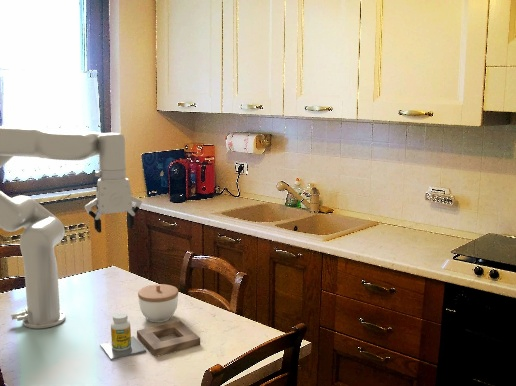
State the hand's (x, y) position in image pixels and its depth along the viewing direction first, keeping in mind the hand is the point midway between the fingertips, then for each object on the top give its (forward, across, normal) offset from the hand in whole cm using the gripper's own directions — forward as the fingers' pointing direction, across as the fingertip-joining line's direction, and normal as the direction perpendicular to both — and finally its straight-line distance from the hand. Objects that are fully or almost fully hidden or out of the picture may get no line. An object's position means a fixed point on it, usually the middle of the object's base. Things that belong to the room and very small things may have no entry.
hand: (114, 229), depth 173 cm
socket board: (+30, +9, -20) cm, 37 cm away
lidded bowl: (+30, +12, -4) cm, 33 cm away
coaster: (+30, -4, -19) cm, 36 cm away
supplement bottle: (+30, -4, -19) cm, 35 cm away
